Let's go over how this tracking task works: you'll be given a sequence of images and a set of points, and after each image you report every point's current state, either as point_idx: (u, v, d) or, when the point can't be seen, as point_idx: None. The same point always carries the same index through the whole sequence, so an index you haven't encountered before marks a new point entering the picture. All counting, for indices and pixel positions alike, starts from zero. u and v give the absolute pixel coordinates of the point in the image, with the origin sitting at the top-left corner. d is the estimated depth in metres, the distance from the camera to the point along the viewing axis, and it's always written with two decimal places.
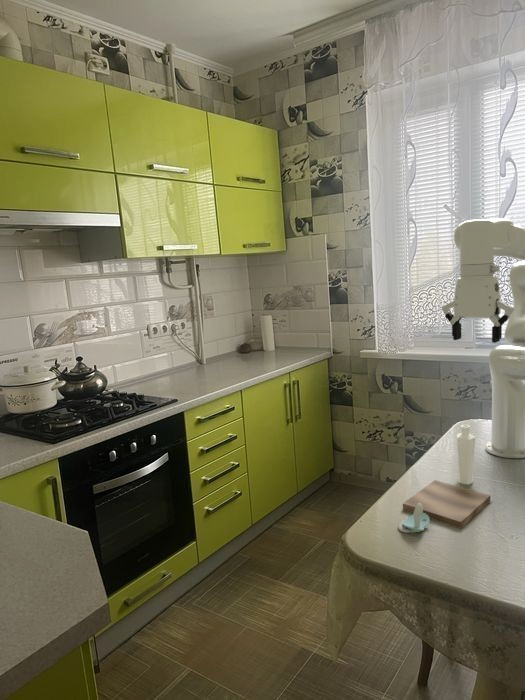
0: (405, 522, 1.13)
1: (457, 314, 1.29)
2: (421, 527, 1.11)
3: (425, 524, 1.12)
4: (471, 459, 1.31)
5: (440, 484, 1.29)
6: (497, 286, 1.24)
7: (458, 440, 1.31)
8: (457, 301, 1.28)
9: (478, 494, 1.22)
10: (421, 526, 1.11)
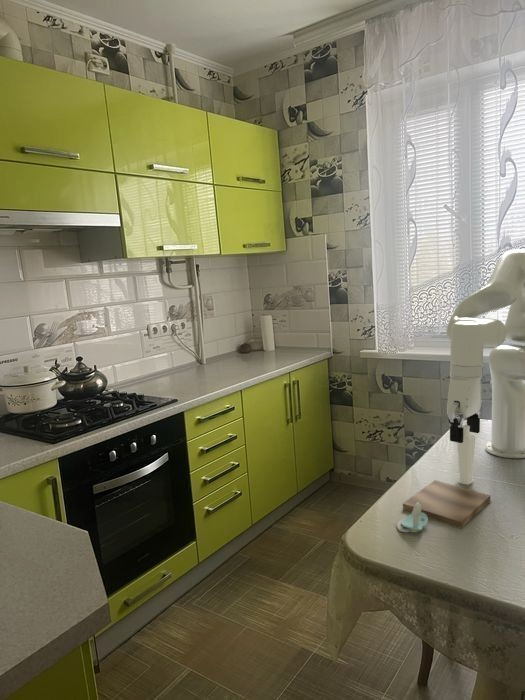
0: (403, 522, 1.13)
1: (466, 416, 1.26)
2: (419, 527, 1.11)
3: (423, 524, 1.12)
4: (471, 459, 1.31)
5: (440, 484, 1.29)
6: None
7: None
8: (467, 402, 1.25)
9: (478, 494, 1.22)
10: (419, 526, 1.12)
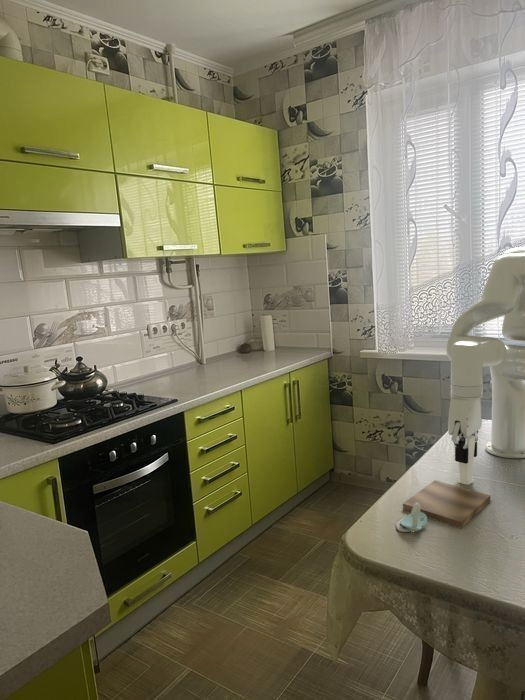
0: (403, 521, 1.13)
1: (467, 435, 1.27)
2: (419, 526, 1.11)
3: (423, 523, 1.12)
4: (471, 459, 1.31)
5: (440, 484, 1.29)
6: None
7: None
8: (468, 422, 1.26)
9: (478, 494, 1.22)
10: (419, 525, 1.12)
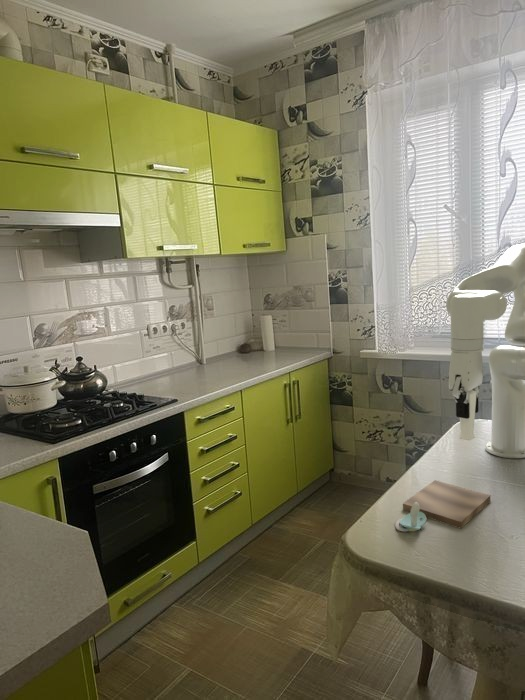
0: (402, 521, 1.13)
1: (468, 389, 1.25)
2: (418, 526, 1.11)
3: (422, 523, 1.12)
4: (472, 414, 1.29)
5: (440, 484, 1.29)
6: None
7: None
8: (469, 376, 1.24)
9: (478, 494, 1.22)
10: (418, 525, 1.12)
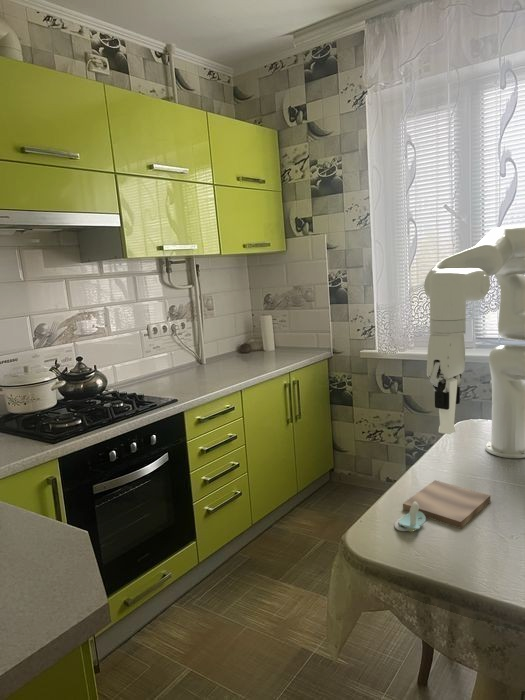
0: (401, 520, 1.14)
1: (448, 376, 1.12)
2: (417, 525, 1.12)
3: (421, 523, 1.13)
4: (453, 405, 1.16)
5: (440, 484, 1.29)
6: None
7: None
8: (449, 361, 1.12)
9: (478, 494, 1.22)
10: (417, 524, 1.12)
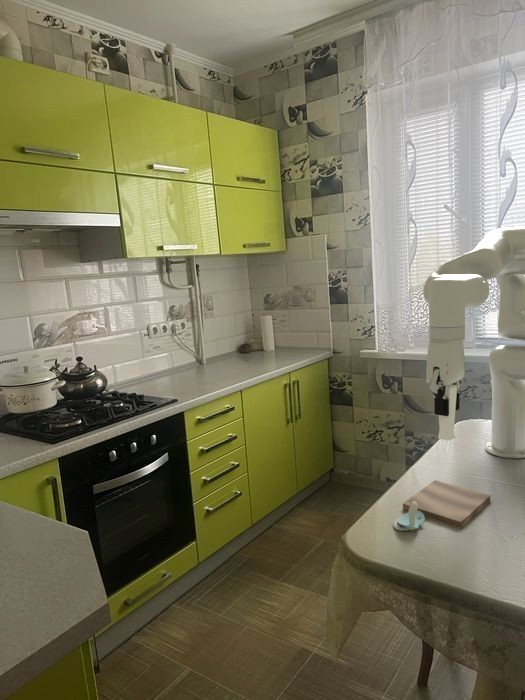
0: (400, 520, 1.14)
1: (447, 383, 1.12)
2: (416, 525, 1.12)
3: (420, 522, 1.13)
4: (452, 412, 1.16)
5: (440, 484, 1.29)
6: None
7: None
8: (448, 368, 1.12)
9: (478, 494, 1.22)
10: (416, 524, 1.12)
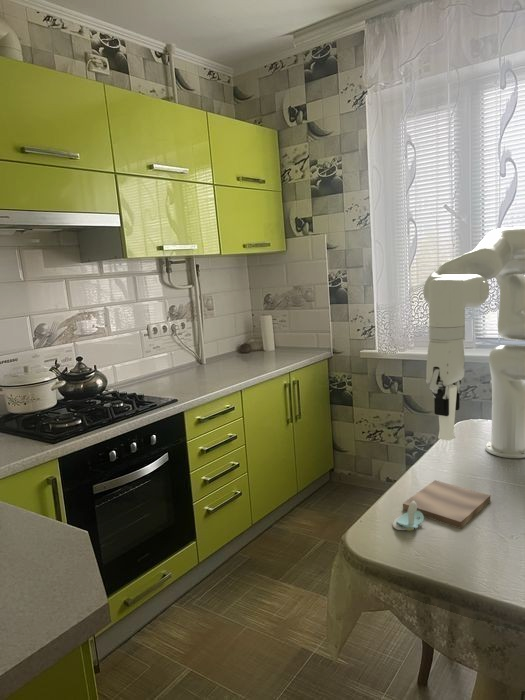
0: (399, 520, 1.14)
1: (447, 383, 1.12)
2: (415, 525, 1.12)
3: (419, 522, 1.13)
4: (452, 412, 1.16)
5: (440, 484, 1.29)
6: None
7: None
8: (448, 368, 1.12)
9: (478, 494, 1.22)
10: (415, 524, 1.12)
